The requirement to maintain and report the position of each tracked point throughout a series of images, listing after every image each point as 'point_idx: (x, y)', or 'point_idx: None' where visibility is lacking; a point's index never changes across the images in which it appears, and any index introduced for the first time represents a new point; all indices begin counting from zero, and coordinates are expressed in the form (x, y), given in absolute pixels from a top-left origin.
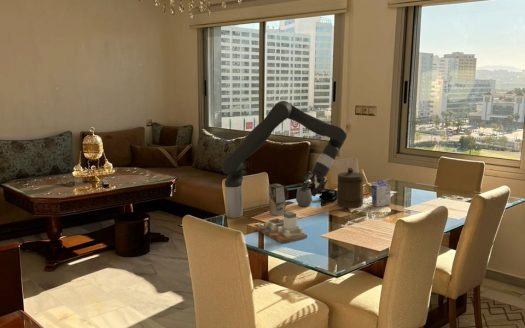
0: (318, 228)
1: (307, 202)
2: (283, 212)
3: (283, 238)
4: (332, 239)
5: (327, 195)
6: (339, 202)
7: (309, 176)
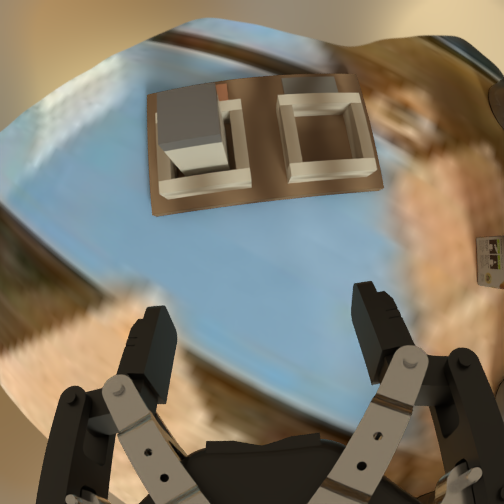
0: (246, 330)
1: (501, 402)
2: (483, 272)
3: None
4: (96, 304)
5: None
6: (433, 500)
7: (447, 472)
